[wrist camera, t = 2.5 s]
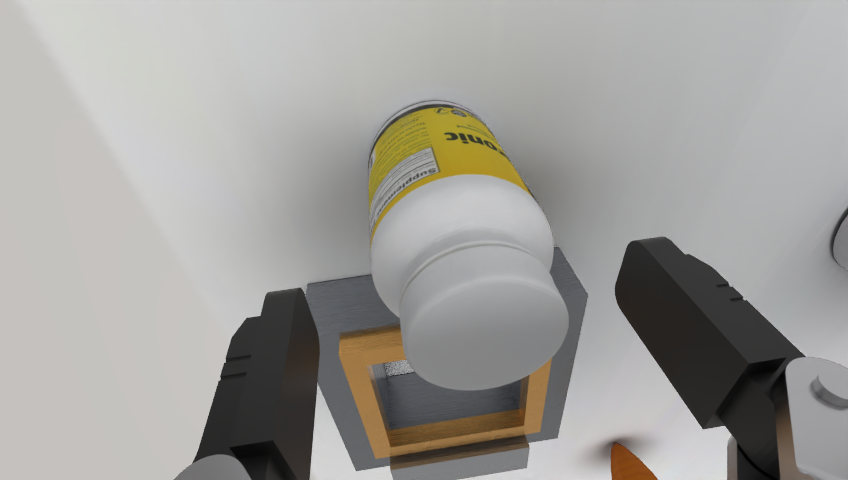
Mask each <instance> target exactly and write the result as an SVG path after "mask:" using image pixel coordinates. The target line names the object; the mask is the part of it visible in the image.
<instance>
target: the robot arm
mask: <svg viewBox="0 0 848 480" xmlns="http://www.w3.org/2000/svg"><path fill="white" fill-rule="evenodd" d="M833 252H834V258H835V259H836V261H837V262H838V263H839V265H840V266H842V267H843V268H845V269H846V270H847V271H848V215H847V217H846V218H845V220H844V221H843V222H842V224H841V226H840V228H839V230H838V232H837V235H836V237H835V241H834V246H833ZM615 296H616V300H617V303H618V306H619V308H620V309H621V311H622V312H623V314H624V315H625V317H626V318H627V320H628V321H629V323H630V324H631V326H632V327H633V328H634V330H635V331H636V333H637V334H638V336H639V337H640V339H641V340H642V342H643V343H644V344H645V346H646V347H647V349H648V350H649V352H650V353H651V355H652V356H653V357H654V359H655V360H656V362H657V363H658V365H659V366H660V368H661V369H662V371H663V372H664V373H665V375H666V376H667V378H668V379H669V381H670V382H671V384H672V385H673V386H674V388H675V389H676V391H677V392H678V394H679V395H680V397H681V398H682V400H683V401H684V402H685V404H686V405H687V407H688V408H689V410H690V411H691V413H692V414H693V415H694V417H695V418H696V420H697V421H698V423H699V424H700V426H701V427H702V429H708V428H713V427H719V426H726V428H727V429H728V430H729V432H730V433H731V434H732V435H731V437H730V438H729V440H728V446H727V480H848V368H846V367H844V366H842V365H840V364H837V363H835V362H832V361H829V360H825V359H821V358H815V357H806V356H805V355H803V354H802V353H801V352H800V351H799V350H798V349H797V348H796V347H795V346H794V345H793V344H792V343H791V342H790V341H789V340H787V339H786V338H785V337H784V336H783V335H782V334H781V333H780V332H779V331H778V330H777V329H776V328H775V327H774V326H773V325H772V324H771V323H770V322H769V321H768V320H767V319H766V318H765V317H764V316H762V315H761V314H760V313H759V312H758V311H757V310H756V309H755V308H754V307H753V306H752V305H751V304H750V303H749V302H748V301H747V300H746V301H744V300H743V296H742V295H741V294H740V293H738V292H737V291H736V290H735V289H734V288H733V287H730V286H729V283H728V282H727V281H726V280H725V279H724V278H723V277H722V276H721V275H720V274H719V273H718V272H717V271H716V270H715V269H713V268H712V267H711V266H709V265H707V264H706V263H704V262H702V261H700V260H699V259H697V258H695V257H693V256H692V255H690V254H687V255H685V254H684V253H683V252H682V251H681V250H680V249H679V248H678V247H677V246H676V245H675V244H674V243H673V242H672V241H671V240H669V239H668V238H666V237H657V238H650V239H643V240H636V241H632V242H630V243H629V244H628V246H627V248H626V252H625V255H624V258H623V262H622V265H621V268H620V271H619V275H618V278H617V281H616V285H615ZM319 357H320V344H319V336H318V331H317V328H316V325H315V322H314V319H313V317H312V314H311V311H310V308H309V305H308V303H307V300H306V297H305V294H304V292H303V290H302V289H301V288H295V289H288V290H281V291H274V292H268V293H267V294H266V296H265V300H264V304H263V308H262V312H261V316H258V317H251V318H246V320H245V321H244V322H243V324H242V325H241V326H240V327H239V329H238V330H237V331H236V333H235V334H234V335H233V337H232V339H231V342H230V346H229V349H228V352H227V356H226V363H224V366H223V369H222V373H221V376H220V377H221V380H220V381H219V382H218V386H217V389H216V392H215V396H214V399H213V403H212V406H211V409H210V412H209V416H208V419H207V423H206V426H205V429H204V433H203V436H202V440H201V443H200V446H199V449H198V452H197V455H196V457H195V459H194V461H193V463H192V464H191V465H190V466H188V467H187V468H186V469H185V470H183V471H182V472H181V473H180V474H179V475H178V476H177V477H176V478H175V479H174V480H309V478H310V466H311V454H312V442H313V430H314V418H315V406H316V393H317V381H318V369H319Z"/></svg>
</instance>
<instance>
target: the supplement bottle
mask: <svg viewBox="0 0 848 480" xmlns="http://www.w3.org/2000/svg"><path fill="white" fill-rule="evenodd" d="M368 182H369V185H368V186H369V228H370V262H371V272H372V278H373V282H374V285H375V288H376V290H377V292H378V294H379V296H380V298H381V299H382V301H383V302H384V303H385V305H386V306H387V307H388V308H389V309H390V310H391V311H392V312H393V313H394V314H395V315H396V316H397V317H399V318H400V325H401V334H402V342H403V350H404V354H405V357H406V359H407V362H408V363H409V365H410V367H411V368H412V369H413V370H414V371H415V372H416V373H417V374H418V375H419V376H420V377H422V378H423V379H425V380H426V381H428V382H430V383H432V384H435V385H437V386H441V387H444V388H449V389H455V390H484V389H490V388H495V387H500V386H503V385H506V384H509V383H512V382H515V381H517V380H520V379H522V378H524V377H526V376H528V375H530V374H532V373H533V372H535V371H536V370H538V369H539V368H540V367H542V366H543V365H544V364H545V363H547V362H548V361H549V360H550V359H551V358H552V357H553V356H554V355H555V354H556V352H557V351H558V350H559V348H560V347H561V345H562V343H563V341H564V340H565V337H566V334H567V331H568V327H569V316H568V311H567V307H566V305H565V302H564V300H563V298H562V297H561V295H560V293H559V291H558V289H557V287H556V285H555V284H554V281H553V279H552V276H551V275H550V273H549V272H550V269H551V266H552V261H553V252H554V243H553V236H552V232H551V228H550V225H549V223H548V221H547V219H546V216H545V214H544V212H543V211H542V209H541V208H540V206H539V204H538V202H537V201H536V199H535V198H534V196H533V195H532V193H531V192H530V190H529V189H528V188H527V186H526V185H525V183H524V182H523V180H522V179H521V177H520V176H519V174H518V173H517V171H516V170H515V168H514V166H513V165H512V163H511V162H510V160H509V159H508V157H507V156H506V154H505V153H504V151H503V150H502V148H501V147H500V145H499V144H498V142H497V140H496V139H495V137H494V136H493V134H492V133H491V131H490V130H489V129H488V127H487V126H486V125H485V123H484V122H483V121H482V120H481V119H480V118H479V117H478V116H477V115H475V114H474V113H473V112H472V111H470V110H468V109H466V108H464V107H462V106H460V105H457V104H454V103H449V102H443V101H429V102H423V103H419V104H415V105H413V106H410V107H408V108H406V109H404V110H402V111H400V112H399V113H397V114H396V115H394V116H393V117H392V118H391V119H390V120H388V122H387V123H386V124H385V125H384V126H383V127H382V128H381V130H380V131H379V133H378V134H377V136H376V138H375V140H374V142H373V145H372V147H371V151H370V156H369V165H368Z"/></svg>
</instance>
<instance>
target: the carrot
mask: <svg viewBox="0 0 848 480" xmlns="http://www.w3.org/2000/svg"><path fill="white" fill-rule="evenodd" d="M611 473H612V480H658V479H657V478H656V476H655V475H654V474H653V473H652V472H651V471H650V470H649V469H648V468H647V467H646V465H645V464H644V463H643V462H642V461H641V460H640V459H639V458H637V457H636V456H635V455H634V454H633V453H632V452H630V451H629V450H628V449H627V448H626V447H624V446H623V445H620V444H618V443H614V444H613V447H612V449H611Z"/></svg>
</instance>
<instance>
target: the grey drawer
mask: <svg viewBox="0 0 848 480" xmlns="http://www.w3.org/2000/svg"><path fill="white" fill-rule="evenodd" d="M549 273H550V275H551V276H552V279H553V281H554V284H555V285H556V287H557V289H558V291H559V293H560V295H561V297H562V298H563V300H564V302H565V305H566V307H567V311H568V316H569V327H568V331H567V334H566V337H565V340H564V341H563V343H562V345H561V347H560V348H559V350H558V351H557V352H556V354H555V355H554V356H553V357H552V358H551V359H550V360H549V361H548V362H547V363H545V364H544V365H543V366H542V367H540V368H539V369H538V370H536V371H535V372H533V373H532V374H530V375H528V376H526V377H524V378H522V379H520V380H517V381H515V382H512V383H509V384H506V385H503V386H500V387H495V388H490V389H484V390H455V389H449V388H444V387H441V386H437V385H435V384H432V383H430V382H428V381H426V380H425V379H423V378H422V377H420V376H419V375H418V374H417V373H410V374H404V375H397V376H391V377H387V375H386V371H385V367H384V363H387V362H394V361H400V360H406V357H405V354H404V350H403V342H402V334H401V325H400V318H399V317H397V316H396V315H395V314H394V313H393V312H392V311H391V310H390V309H389V308H388V307H387V306H386V305H385V303H384V302H383V301H382V299H381V298H380V296H379V294H378V292H377V290H376V288H375V285H374V282H373V278H372V275H368V276H361V277H354V278H347V279H341V280H334V281H327V282H320V283H314V284H308V285H307V291H306V300H307V303H308V305H309V308H310V311H311V314H312V317H313V319H314V322H315V325H316V328H317V331H318V336H319V344H320V357H319V369H318V381H317V382H318V384H319V387H320V389H321V391H322V394H323V396H324V398H325V401H326V403H327V405H328V407H329V410H330V412H331V414H332V417H333V419H334V421H335V424H336V426H337V428H338V430H339V433H340V435H341V437H342V440H343V442H344V444H345V447H346V449H347V451H348V453H349V456H350V458H351V460H352V463H353V465H354V467H355V470H356V471H360V470H366V469H372V468H378V467H384V466H390V469H391V473H392V476H393V480H457V479H463V478H469V477H475V476H481V475H487V474H493V473H499V472H505V471H511V470H517V469H523V468H527V462H528V455H529V444H528V443H530V442H536V441H542V440H548V439H555V438H558V433H559V428H560V424H561V419H562V414H563V410H564V405H565V400H566V396H567V391H568V386H569V382H570V377H571V372H572V368H573V363H574V358H575V354H576V349H577V344H578V340H579V335H580V330H581V326H582V321H583V316H584V312H585V307H586V302H587V298H588V294H587V292H586V291H585V289H584V288H583V286H582V284H581V283H580V281H579V279H578V278H577V276H576V275H575V273H574V271H573V270H572V268H571V266H570V265H569V263H568V262H567V260H566V258H565V257H564V255H563V253H562V252H561V250H560V249H559V247H558V248H554V252H553V261H552V266H551V269H550V272H549Z"/></svg>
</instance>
